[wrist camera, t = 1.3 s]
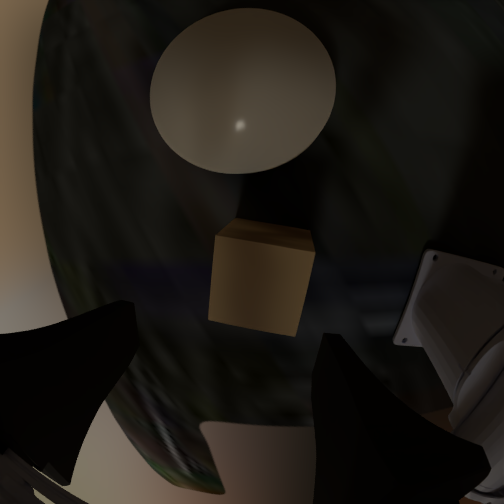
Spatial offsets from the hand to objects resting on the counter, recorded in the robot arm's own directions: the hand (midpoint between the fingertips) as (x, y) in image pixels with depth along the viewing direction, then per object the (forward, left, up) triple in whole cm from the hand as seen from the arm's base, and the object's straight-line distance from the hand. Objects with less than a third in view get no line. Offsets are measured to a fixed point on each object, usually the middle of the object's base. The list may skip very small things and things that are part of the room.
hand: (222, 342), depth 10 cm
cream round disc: (+2, -11, -10) cm, 15 cm away
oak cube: (-1, 0, -10) cm, 10 cm away
